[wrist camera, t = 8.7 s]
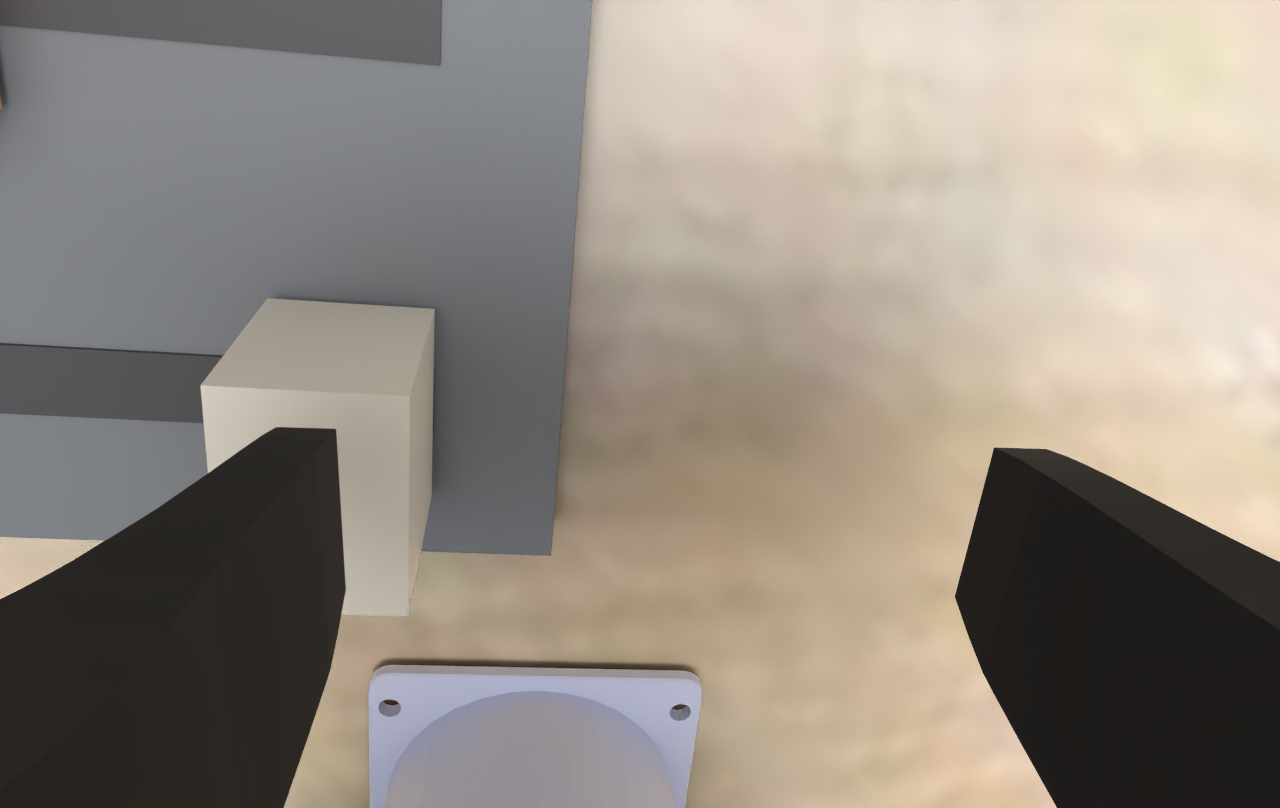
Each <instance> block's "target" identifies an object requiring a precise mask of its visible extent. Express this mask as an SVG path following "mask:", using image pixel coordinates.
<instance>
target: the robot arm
mask: <svg viewBox="0 0 1280 808" xmlns="http://www.w3.org/2000/svg"><path fill="white" fill-rule="evenodd" d="M345 592H346V584H345V567H344V551H343V534H342V518H341V501H340V484H339V468H338V451H337V435H336V429H327V428H293V427H275V428H274V429H272V430H270V431H268V432H267V433H265V434H264V435H262V436H260V437H259V438H257V439H256V440H255V441H253V442H252V443H250V444H249V445H247V446H246V447H244V448H243V449H242V450H240V451H239V452H237V453H236V454H235V455H233V456H232V457H230V458H229V459H227V460H226V461H225V462H223V463H222V464H220V465H219V466H218V467H216V468H215V469H213V470H212V471H211V472H209V473H208V474H206V475H205V476H203V477H202V478H200V479H199V480H198V481H196V482H195V483H193V484H192V485H190V486H189V487H187V488H186V489H185V490H183V491H182V492H180V493H179V494H177V495H176V496H174V497H173V498H171V499H170V500H169V501H167V502H166V503H164V504H163V505H161V506H160V507H158V508H157V509H155V510H154V511H152V512H151V513H149V514H148V515H146V516H144V517H143V518H141V519H139V520H138V521H136V522H135V523H133V524H131V525H130V526H128V527H127V528H125V529H123V530H122V531H120V532H118V533H117V534H115V535H114V536H112V537H110V538H109V539H107V540H106V541H104V542H102V543H101V544H99V545H97V546H96V547H94V548H93V549H91V550H89V551H88V552H86V553H84V554H83V555H81V556H80V557H78V558H76V559H75V560H73V561H71V562H70V563H68V564H66V565H64V566H63V567H61V568H59V569H57V570H55V571H54V572H52V573H50V574H48V575H46V576H44V577H43V578H41V579H39V580H37V581H35V582H33V583H31V584H30V585H28V586H26V587H24V588H22V589H20V590H18V591H16V592H14V593H12V594H10V595H8V596H6V597H4V598H2V599H0V808H284V805H285V802H286V799H287V796H288V793H289V790H290V787H291V784H292V781H293V779H294V776H295V773H296V770H297V767H298V764H299V761H300V758H301V755H302V752H303V750H304V747H305V744H306V741H307V738H308V735H309V732H310V729H311V726H312V723H313V720H314V717H315V714H316V711H317V708H318V705H319V702H320V699H321V696H322V694H323V691H324V687H325V684H326V681H327V678H328V675H329V672H330V668H331V663H332V659H333V654H334V649H335V644H336V639H337V634H338V629H339V624H340V618H341V613H342V608H343V602H344V597H345ZM955 598H956V601H957V604H958V607H959V610H960V613H961V615H962V618H963V621H964V624H965V627H966V630H967V633H968V636H969V638H970V641H971V644H972V646H973V649H974V651H975V654H976V656H977V659H978V661H979V664H980V666H981V669H982V671H983V674H984V676H985V677H986V679H987V681H988V683H989V685H990V687H991V689H992V691H993V693H994V695H995V696H996V698H997V700H998V702H999V704H1000V706H1001V707H1002V709H1003V711H1004V713H1005V715H1006V717H1007V719H1008V720H1009V722H1010V724H1011V726H1012V728H1013V730H1014V731H1015V733H1016V735H1017V737H1018V739H1019V740H1020V742H1021V744H1022V746H1023V748H1024V749H1025V751H1026V753H1027V755H1028V757H1029V758H1030V760H1031V762H1032V764H1033V765H1034V767H1035V769H1036V771H1037V773H1038V774H1039V776H1040V778H1041V780H1042V782H1043V783H1044V785H1045V787H1046V789H1047V791H1048V792H1049V794H1050V796H1051V798H1052V800H1053V801H1054V803H1055V805H1056V807H1057V808H1280V562H1279V561H1276V560H1274V559H1272V558H1270V557H1268V556H1266V555H1264V554H1262V553H1260V552H1258V551H1256V550H1253V549H1251V548H1249V547H1247V546H1245V545H1243V544H1241V543H1239V542H1237V541H1235V540H1233V539H1231V538H1229V537H1227V536H1225V535H1223V534H1221V533H1219V532H1217V531H1215V530H1213V529H1211V528H1209V527H1207V526H1206V525H1204V524H1202V523H1200V522H1198V521H1196V520H1194V519H1192V518H1190V517H1188V516H1186V515H1184V514H1182V513H1180V512H1178V511H1176V510H1174V509H1172V508H1171V507H1169V506H1167V505H1165V504H1163V503H1161V502H1159V501H1157V500H1155V499H1153V498H1151V497H1149V496H1147V495H1145V494H1143V493H1141V492H1139V491H1137V490H1136V489H1134V488H1132V487H1130V486H1128V485H1126V484H1124V483H1122V482H1120V481H1118V480H1116V479H1114V478H1112V477H1110V476H1108V475H1106V474H1104V473H1102V472H1099V471H1097V470H1095V469H1093V468H1091V467H1089V466H1087V465H1085V464H1082V463H1080V462H1078V461H1076V460H1073V459H1071V458H1069V457H1066V456H1064V455H1061V454H1058V453H1055V452H1053V451H1050V450H1047V449H1021V448H994V450H993V454H992V458H991V462H990V466H989V469H988V473H987V477H986V481H985V485H984V488H983V492H982V496H981V500H980V504H979V507H978V511H977V515H976V519H975V523H974V526H973V530H972V534H971V538H970V542H969V545H968V549H967V553H966V557H965V561H964V564H963V568H962V572H961V576H960V579H959V583H958V587H957V591H956V595H955ZM388 699H391V700H396V701H397V702H398V703H399V704H397V705H387V704H385V703H384V702H383V701H384V700H388ZM701 701H702V687H701V683H700V680H699V679H698V677H697V676H696V675H695V674H693V673H691V672H688V671H675V670H626V669H577V668H528V667H479V666H430V665H386V666H382V667H380V668H378V669H376V670H375V672H374V673H373V674H372V676H371V680H370V684H369V688H368V709H369V783H370V808H685V804H686V797H687V791H688V785H689V778H690V772H691V765H692V759H693V753H694V746H695V740H696V733H697V727H698V721H699V714H700V708H701ZM678 704H684V705H687V706H686V707H684V708H683V709H679V710H675V709H672V707H674V706H675V705H678Z"/></svg>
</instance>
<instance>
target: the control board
mask: <svg viewBox="0 0 1280 808" xmlns="http://www.w3.org/2000/svg"><path fill="white" fill-rule="evenodd" d="M591 8H592V0H0V98H1V104H2V109H1V110H0V537H21V538H50V539H80V540H107V539H109V538H110V537H112V536H114V535H115V534H117V533H118V532H120V531H122V530H123V529H125V528H127V527H128V526H130V525H131V524H133V523H135V522H136V521H138V520H139V519H141V518H143V517H144V516H146V515H148V514H149V513H151V512H152V511H154V510H155V509H157V508H158V507H160V506H161V505H163V504H164V503H166V502H167V501H169V500H170V499H171V498H173V497H174V496H176V495H177V494H179V493H180V492H182V491H183V490H185V489H186V488H187V487H189V486H190V485H192V484H193V483H195V482H196V481H198V480H199V479H200V478H202V477H203V476H205V475H206V474H208V469H207V457H206V445H205V433H204V422H203V410H202V398H201V387H200V385H201V384H202V383H203V381H204V380H205V379H206V378H207V376H208V375H209V374H210V372H211V371H212V370H213V368H214V367H215V366H216V365H217V363H218V362H219V361H220V359H221V358H222V357H223V355H224V354H225V353H226V351H227V350H228V349H229V348H230V346H231V345H232V344H233V342H234V341H235V340H236V338H237V337H238V336H239V335H240V333H241V332H242V331H243V329H244V328H245V327H246V325H247V324H248V323H249V321H250V320H251V319H252V318H253V316H254V315H255V314H256V312H257V311H258V310H259V308H260V307H261V306H262V305H263V303H264V302H265V301H266V299H267V298H272V299H288V300H304V301H320V302H335V303H351V304H367V305H383V306H399V307H414V308H430V309H435V327H434V386H433V445H432V497H431V502H430V507H429V513H428V518H427V523H426V528H425V533H424V538H423V543H422V548H421V551H432V552H461V553H491V554H520V555H549V556H551V548H552V534H553V521H554V507H555V494H556V480H557V467H558V453H559V440H560V426H561V413H562V399H563V386H564V372H565V359H566V345H567V332H568V318H569V305H570V291H571V278H572V264H573V251H574V237H575V224H576V210H577V197H578V183H579V170H580V156H581V143H582V129H583V116H584V102H585V89H586V75H587V62H588V48H589V35H590V21H591Z"/></svg>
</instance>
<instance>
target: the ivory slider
mask: <svg viewBox="0 0 1280 808" xmlns="http://www.w3.org/2000/svg"><path fill="white" fill-rule="evenodd" d="M434 327H435V309H430V308H414V307H399V306H383V305H367V304H351V303H335V302H320V301H304V300H288V299H272V298H267V299H266V301H265V302H264V303H263V305H262V306H261V307H260V308H259V310H258V311H257V312H256V314H255V315H254V316H253V318H252V319H251V320H250V321H249V323H248V324H247V325H246V327H245V328H244V329H243V331H242V332H241V333H240V335H239V336H238V337H237V338H236V340H235V341H234V342H233V344H232V345H231V346H230V348H229V349H228V350H227V351H226V353H225V354H224V355H223V357H222V358H221V359H220V361H219V362H218V363H217V365H216V366H215V367H214V368H213V370H212V371H211V372H210V374H209V375H208V376H207V378H206V379H205V380H204V381H203V383H202V384H201V385H200V387H201V398H202V410H203V422H204V433H205V445H206V457H207V469H208V473H209V472H211V471H212V470H213V469H215V468H216V467H218V466H219V465H220V464H222V463H223V462H225V461H226V460H227V459H229V458H230V457H232V456H233V455H235V454H236V453H237V452H239V451H240V450H242V449H243V448H244V447H246V446H247V445H249V444H250V443H252V442H253V441H255V440H256V439H257V438H259V437H260V436H262V435H264V434H265V433H267V432H268V431H270V430H272V429H274V428H275V427H293V428H327V429H336V435H337V451H338V468H339V484H340V501H341V518H342V534H343V551H344V567H345V584H346V592H345V597H344V602H343V608H342V613H341V615H374V616H408V615H409V610H410V605H411V600H412V595H413V590H414V584H415V579H416V574H417V569H418V564H419V559H420V554H421V548H422V543H423V538H424V533H425V528H426V523H427V518H428V513H429V507H430V502H431V497H432V445H433V386H434Z"/></svg>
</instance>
